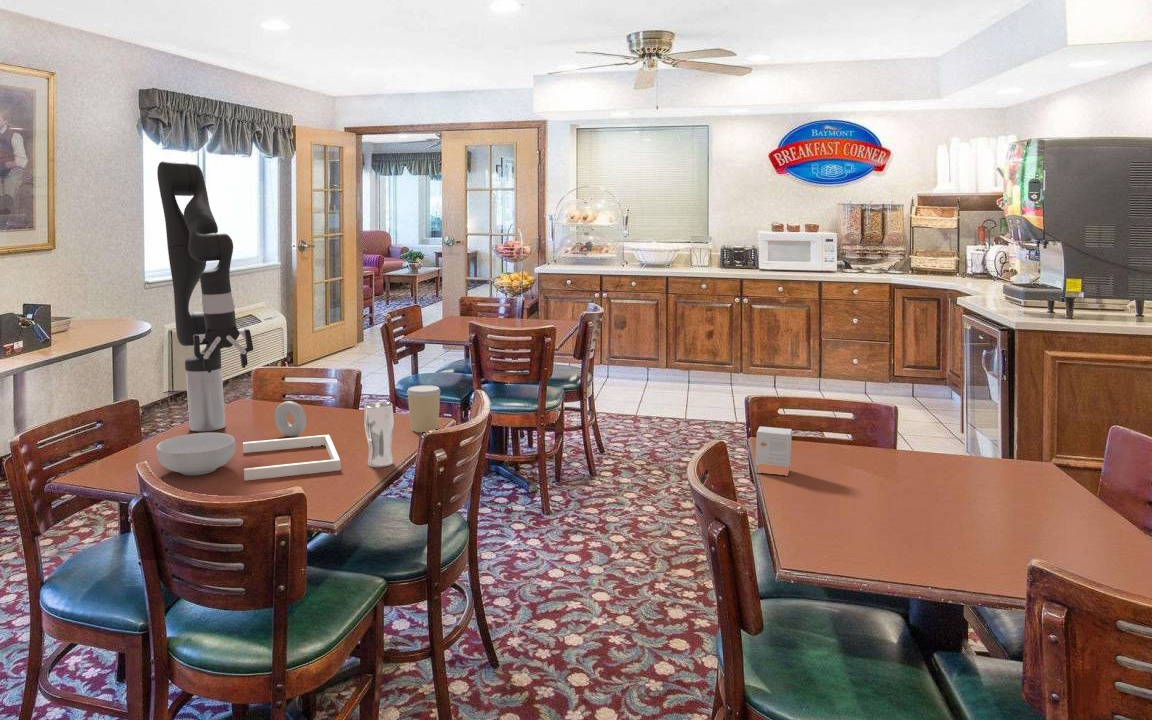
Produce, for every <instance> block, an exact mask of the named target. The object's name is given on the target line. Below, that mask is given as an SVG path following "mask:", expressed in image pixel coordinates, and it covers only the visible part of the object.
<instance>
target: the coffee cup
mask: <svg viewBox="0 0 1152 720" xmlns="http://www.w3.org/2000/svg"><path fill="white" fill-rule="evenodd" d="M406 394H407V401H408V402H407V403H408V413H409V422H410V423H409V424H410V431H412V432H414V431H415V432H414V433H422V432H425V431H429V430H433V429H438V430H439V422H440V404H441V403H440V400H441V397H440V396H441V389H440V387H439V386H437V385H428V384H427V385H425V384H424V385H413V386H410V387H408V388H407V391H406ZM422 434H423V433H422Z"/></svg>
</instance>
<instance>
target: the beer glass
mask: <svg viewBox="0 0 1152 720" xmlns="http://www.w3.org/2000/svg"><path fill="white" fill-rule="evenodd" d="M393 407H394V406H393V403H392V402H389V401H373V402H368V403H365V404H364V417H363V418H364V419H363V420H364V430H365V431H364V432H365V436H366V440H367V441H366V442H367V445H368V458H367V466H368V467H371V468H379V469H380V468H385V467H390V466H393V464H394V458H393V455H392V442H393V435H394V428H395V427H394V426H395V420H394V419H395V418H394V409H393Z"/></svg>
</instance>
